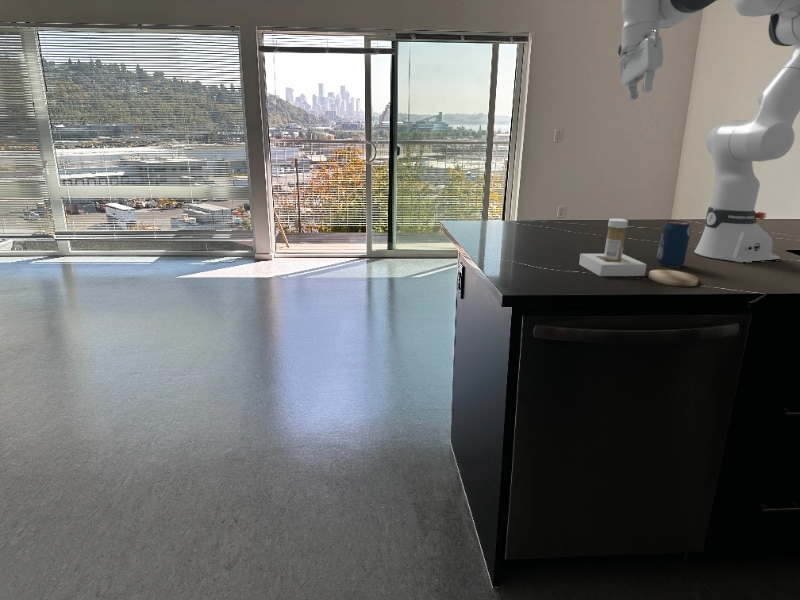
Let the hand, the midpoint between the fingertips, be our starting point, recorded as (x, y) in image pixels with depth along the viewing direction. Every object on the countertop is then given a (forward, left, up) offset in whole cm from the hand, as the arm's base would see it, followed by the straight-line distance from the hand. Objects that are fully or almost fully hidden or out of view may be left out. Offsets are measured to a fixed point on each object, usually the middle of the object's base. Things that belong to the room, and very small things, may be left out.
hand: (640, 95), depth 134 cm
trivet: (-3, +24, -44) cm, 50 cm away
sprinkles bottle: (+8, +14, -44) cm, 47 cm away
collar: (+8, +14, -44) cm, 47 cm away
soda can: (-12, +9, -44) cm, 47 cm away
